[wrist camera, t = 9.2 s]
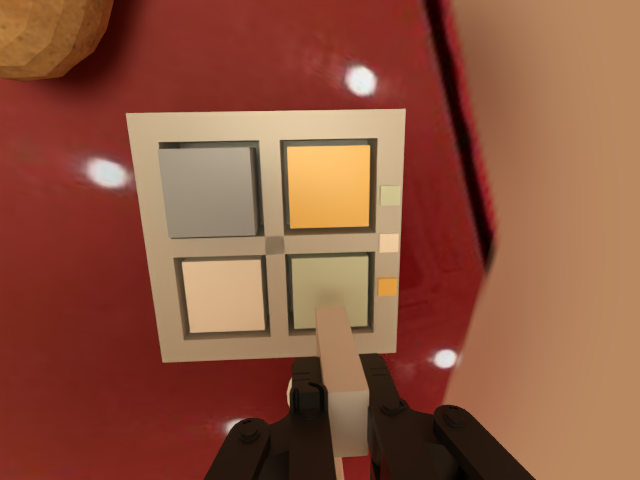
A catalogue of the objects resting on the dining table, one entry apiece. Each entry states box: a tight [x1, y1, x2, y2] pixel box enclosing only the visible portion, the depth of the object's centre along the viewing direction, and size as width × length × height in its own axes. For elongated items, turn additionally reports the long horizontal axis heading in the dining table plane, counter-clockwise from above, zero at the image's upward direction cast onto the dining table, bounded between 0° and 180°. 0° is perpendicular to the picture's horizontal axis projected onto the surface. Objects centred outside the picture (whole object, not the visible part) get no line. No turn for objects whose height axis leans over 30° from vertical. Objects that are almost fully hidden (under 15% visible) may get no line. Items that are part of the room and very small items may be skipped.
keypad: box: [126, 109, 406, 363], centre depth 25 cm, size 16×16×6 cm
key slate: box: [157, 147, 260, 238], centre depth 21 cm, size 5×5×3 cm
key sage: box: [292, 252, 368, 329], centre depth 25 cm, size 5×5×3 cm
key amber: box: [287, 145, 370, 229], centre depth 23 cm, size 5×5×3 cm
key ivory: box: [182, 255, 269, 333], centre depth 25 cm, size 5×5×3 cm
